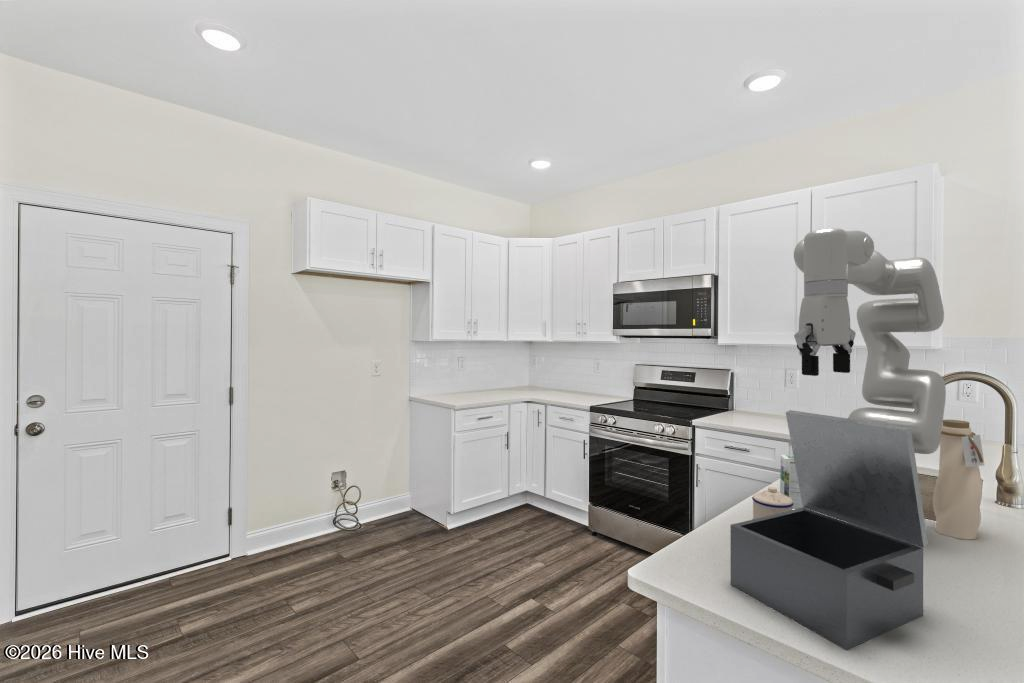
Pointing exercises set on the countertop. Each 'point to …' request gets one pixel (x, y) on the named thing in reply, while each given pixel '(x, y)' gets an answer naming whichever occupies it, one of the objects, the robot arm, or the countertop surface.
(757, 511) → the teacup with lid
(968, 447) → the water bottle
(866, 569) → the grey lidded box
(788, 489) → the syrup box
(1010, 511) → the countertop surface
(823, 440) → the cooker lid
